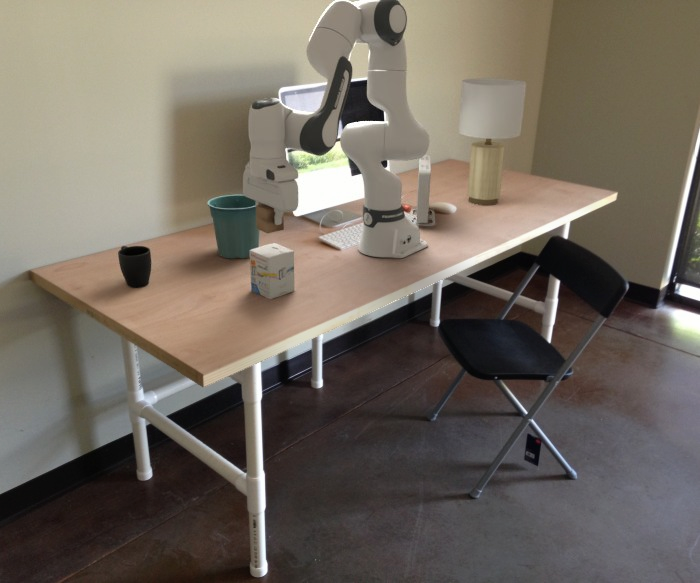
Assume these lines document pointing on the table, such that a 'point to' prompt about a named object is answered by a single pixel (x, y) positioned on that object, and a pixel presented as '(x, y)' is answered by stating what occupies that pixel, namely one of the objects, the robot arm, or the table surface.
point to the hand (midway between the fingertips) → (270, 221)
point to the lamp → (489, 131)
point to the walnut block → (267, 219)
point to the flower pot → (234, 225)
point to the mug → (135, 265)
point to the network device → (424, 193)
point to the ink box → (272, 270)
